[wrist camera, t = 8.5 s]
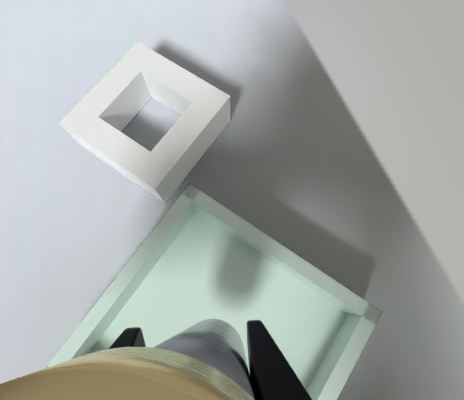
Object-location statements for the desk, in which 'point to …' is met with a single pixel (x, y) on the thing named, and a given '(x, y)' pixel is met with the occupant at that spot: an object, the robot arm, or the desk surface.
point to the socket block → (131, 102)
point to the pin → (148, 371)
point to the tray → (230, 295)
